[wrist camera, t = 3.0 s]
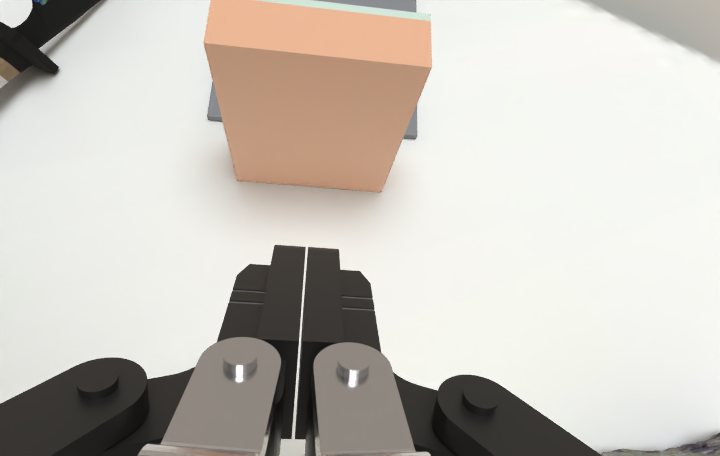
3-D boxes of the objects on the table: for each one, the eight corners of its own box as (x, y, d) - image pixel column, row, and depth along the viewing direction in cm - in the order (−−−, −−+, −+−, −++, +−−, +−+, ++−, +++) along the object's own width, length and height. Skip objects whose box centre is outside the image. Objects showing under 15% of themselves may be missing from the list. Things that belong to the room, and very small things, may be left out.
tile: (236, 180, 35) (203, 42, 22) (241, 141, 36) (212, -12, 23) (380, 192, 36) (431, 67, 23) (381, 154, 37) (430, 14, 24)
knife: (-107, 198, 30) (-161, 159, 26) (-146, 171, 31) (-206, 127, 27) (221, -51, 44) (218, -102, 40) (192, -68, 44) (187, -121, 40)
